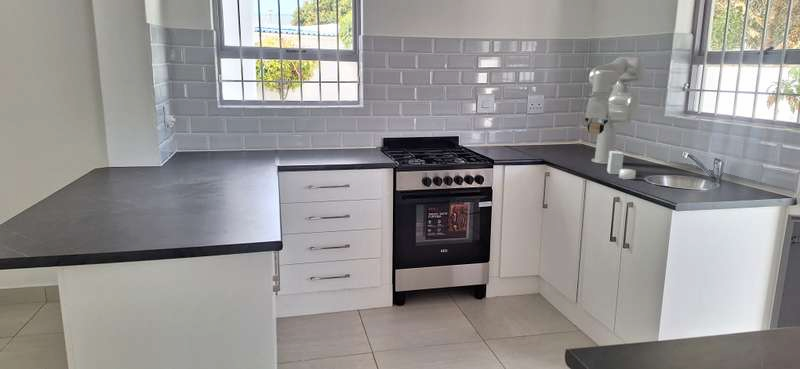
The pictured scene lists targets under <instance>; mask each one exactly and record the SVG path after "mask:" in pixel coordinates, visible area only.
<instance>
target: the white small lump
mask: <svg viewBox="0 0 800 369" xmlns="http://www.w3.org/2000/svg"><path fill="white" fill-rule="evenodd" d="M636 174H637V172H636V170H635V169H631V168H630V169H629V168H622V169H620V173H619V175H618V178H619V179H621V178H622V180H625V179H635V180H636Z"/></svg>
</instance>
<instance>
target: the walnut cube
mask: <svg viewBox="0 0 800 369" xmlns="http://www.w3.org/2000/svg"><path fill="white" fill-rule="evenodd" d="M600 125H601V123H599V122H591V123H590V127H589V131H588V134H594V135H595V134H597V135H598V134H600Z"/></svg>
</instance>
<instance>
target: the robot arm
mask: <svg viewBox="0 0 800 369" xmlns="http://www.w3.org/2000/svg"><path fill="white" fill-rule="evenodd" d="M646 78H647V71H646V67H645V65H644V61H642V59H641V58H640V57H638V56H618V57H617V58H616V59H615V60H614V61H612V62H610V63H605V64H602V65H598V66H595V67H594V68H593V69H592V70H591V71H590V72H589V75H588V81H589V84H591V85H592V90H591V91H592V92H589V93H588V95H589V96H590V98H589V100H588V103H587V106H586V111H585V112H584V113H583V114H582V115H581V117H582V118H583V119H584V120H585V121H586V122H587V131H588V132H589V127H590V123H592V121H593V119H597V120H598V123H601V125H600V134H597V138H596V147H595V154H594V158H591V162H593V163H595V164H602V165H608V159H609V151H616V149H615V148H616V140H617V135H618V134H617V133H618V131H617V128H616V125H615V124H625V125H626V124H630V123H631V122H632V121H633V119H634V117H635V115H636V113H637V110H638V108H639V105H640V97H639V96H638V94H635V93H632V92H631V93H630V89H629V88H628V85H626V84H628V83H629V84H642V83H644V82H645V80H646ZM609 86H610V87H611V86H612V88H613V89H612V91H611V93H610V94H609ZM608 94H609V95H608ZM608 96H609V97H608Z"/></svg>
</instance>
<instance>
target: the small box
mask: <svg viewBox="0 0 800 369" xmlns="http://www.w3.org/2000/svg"><path fill="white" fill-rule="evenodd" d="M624 155H625V153H623V152H622V151H616V150H614V151H609V159H608V164H607V168H606V171H607V173H608V174H609V175H618V176H619V173H620V169H623V162H624V157H625V156H624Z"/></svg>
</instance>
